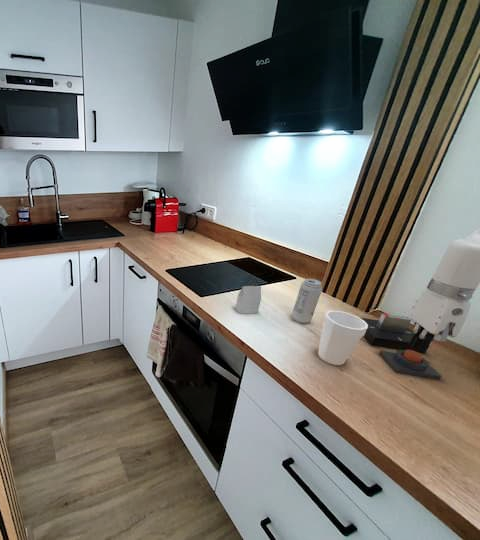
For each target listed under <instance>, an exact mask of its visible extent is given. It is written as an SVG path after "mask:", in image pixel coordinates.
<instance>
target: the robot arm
mask: <svg viewBox="0 0 480 540" xmlns="http://www.w3.org/2000/svg"><path fill="white" fill-rule="evenodd" d="M479 285H480V227H479V228H477V229H476V230H474V231H473V232H472V233H470V234H469V235H467V236H466V237H465V238H456V239H452V241H450V243H449V244H448V246H447V247H446V249H445V251H444V253H443V255H442V257H441V259H440V261H439V263H438V265H437V267H436V268H435V271H434V272H433V274H432V276H431V278H430V280H429V282H428V283H427V286H426V287H424V289H423V290H422V292H421V293H420V294H419V296H418V297H417V299H416V301H415V302H414V303H413V306H412V308H411V309H410V312H409V317H410V319H411V322H412V323H413V324H414V328H413V330H412V331H413V333H414V335H413V337H412V339H411V340H410V342H409V344H408V346H409V347H411V349H412V350H418V351H426V350H427V351H428V349H429V348H428V346H429V345H430V344H431V343H432V342H434V341H436V342H441V343H446V342H447V340H448V337H450V338H457V337H458V335H459V334H460V332H461V330H462V328H463V327H464V324H465V322H466V321H467V318H468V316H469V312H470V309H471V304H472V302H471V301H470V300H471V299H472V298H473V295H474V293H475V292H476V290H477V288H478V287H479ZM429 347H430V346H429ZM427 348H428V349H427ZM427 351H426V352H427Z"/></svg>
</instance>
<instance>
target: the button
mask: <svg viewBox="0 0 480 540" xmlns="http://www.w3.org/2000/svg"><path fill="white" fill-rule="evenodd" d="M403 356H404V357H405V358H406V359H408V360H410V361H413V362H416V363H420V362H421V360H422V359H423V358H424V355H423V354H422V353H418V352H416V351H413V350H405V352H404V354H403Z"/></svg>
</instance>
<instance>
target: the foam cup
mask: <svg viewBox="0 0 480 540" xmlns="http://www.w3.org/2000/svg"><path fill="white" fill-rule="evenodd" d="M361 318H362V317H360V316H357V315H354V314H353V313H350V312H346V311H341V310H328V311H326V312H325V315H324V316H323V320H322V322H323V324H322V329H321V333H320V339H319V345H318V350H317V355H318V357H319V358H320V359H321V360H323V361H325V362H326V363H328V364H331V365H334V366H342V365H344V363H346V361H347V360H348V359H349V357H350V355H351V354H352V352H353V351H354V349H355V348H356V346H357V345H358V344H359V342H360V341H361V339H362V338H363V337H364V335H365V333H366V330H367V328H368V324H367V323H366V322H365V321H364V320H362V319H361Z"/></svg>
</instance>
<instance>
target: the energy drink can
mask: <svg viewBox="0 0 480 540" xmlns="http://www.w3.org/2000/svg"><path fill="white" fill-rule="evenodd" d="M322 290H323V286H322V282H321V281H320V280H318V279H315V278H305V279H304V280H303V282H302V283H301V284H300V287H299V289H298V293H297V296H296V299H295V303H294V305H293V309H292V313H291V317H292V319H293V320H294V321H295V322H297V323H299V324H304V325H305V324H308V323H310V322H312V319H313V317H314V314H315V311H316V308H317V305H318V303H319V301H320V300H319V299H320V296H321V294H322V292H323V291H322Z"/></svg>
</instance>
